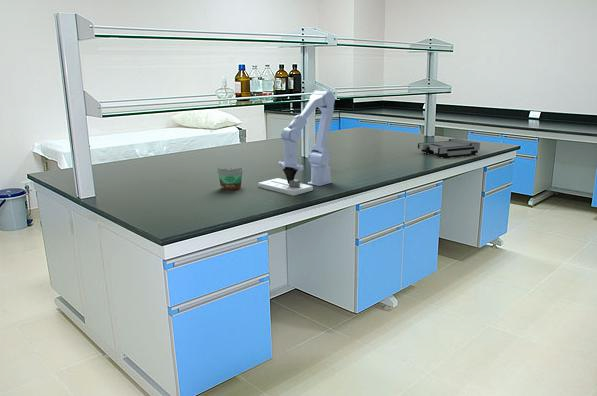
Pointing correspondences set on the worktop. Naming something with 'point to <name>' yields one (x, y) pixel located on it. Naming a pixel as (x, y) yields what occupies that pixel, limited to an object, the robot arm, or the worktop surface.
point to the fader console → (284, 187)
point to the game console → (450, 148)
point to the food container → (230, 178)
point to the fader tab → (294, 183)
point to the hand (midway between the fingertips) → (290, 183)
